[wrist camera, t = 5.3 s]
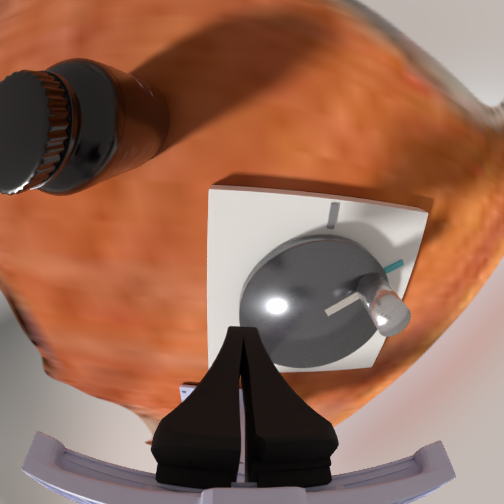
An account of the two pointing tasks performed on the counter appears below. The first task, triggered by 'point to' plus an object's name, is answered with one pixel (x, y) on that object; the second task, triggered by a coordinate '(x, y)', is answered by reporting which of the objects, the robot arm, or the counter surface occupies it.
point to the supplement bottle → (76, 126)
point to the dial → (319, 301)
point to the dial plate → (293, 227)
